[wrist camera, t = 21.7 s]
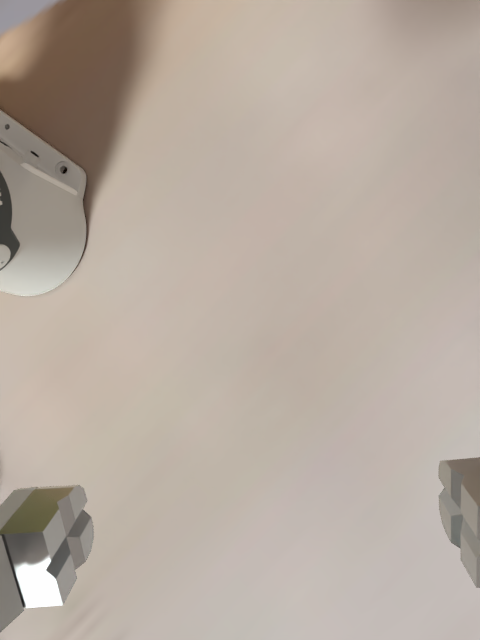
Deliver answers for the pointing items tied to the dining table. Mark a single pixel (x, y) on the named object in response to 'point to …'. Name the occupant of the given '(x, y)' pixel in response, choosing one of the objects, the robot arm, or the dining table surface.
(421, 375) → the dining table surface
